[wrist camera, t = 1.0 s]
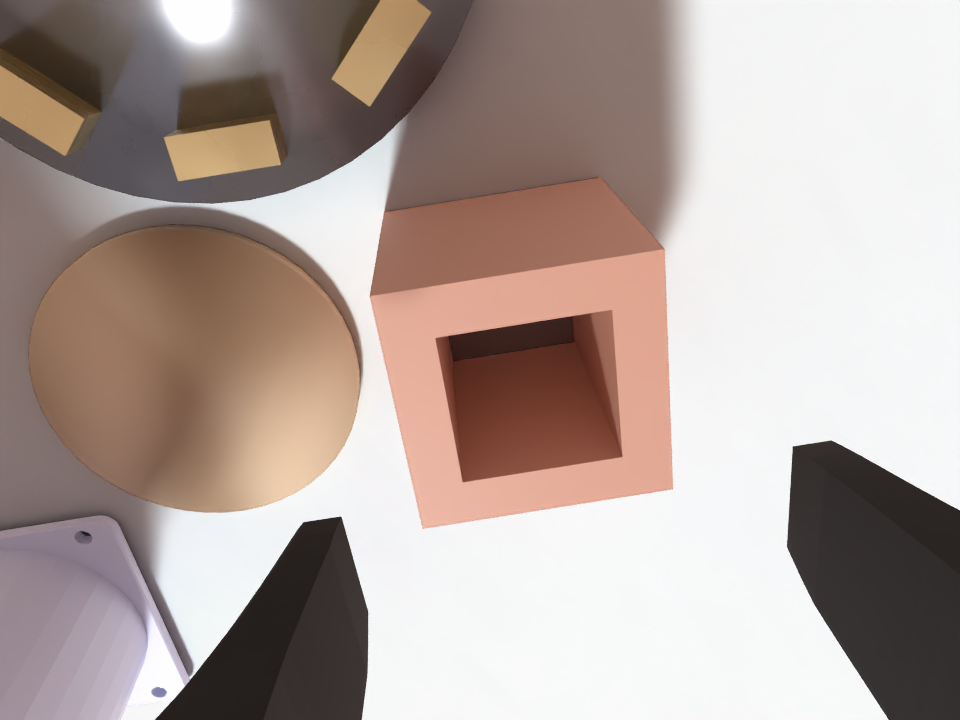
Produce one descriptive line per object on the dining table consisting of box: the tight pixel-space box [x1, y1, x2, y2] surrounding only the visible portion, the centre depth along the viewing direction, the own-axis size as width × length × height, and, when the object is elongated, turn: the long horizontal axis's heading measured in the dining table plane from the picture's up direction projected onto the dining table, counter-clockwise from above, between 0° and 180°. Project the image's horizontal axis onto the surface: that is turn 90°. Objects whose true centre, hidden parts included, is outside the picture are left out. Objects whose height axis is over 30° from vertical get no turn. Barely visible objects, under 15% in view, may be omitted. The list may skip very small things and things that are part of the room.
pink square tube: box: [370, 177, 673, 529], centre depth 19 cm, size 6×6×6 cm
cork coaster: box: [29, 225, 360, 512], centre depth 22 cm, size 9×9×1 cm
